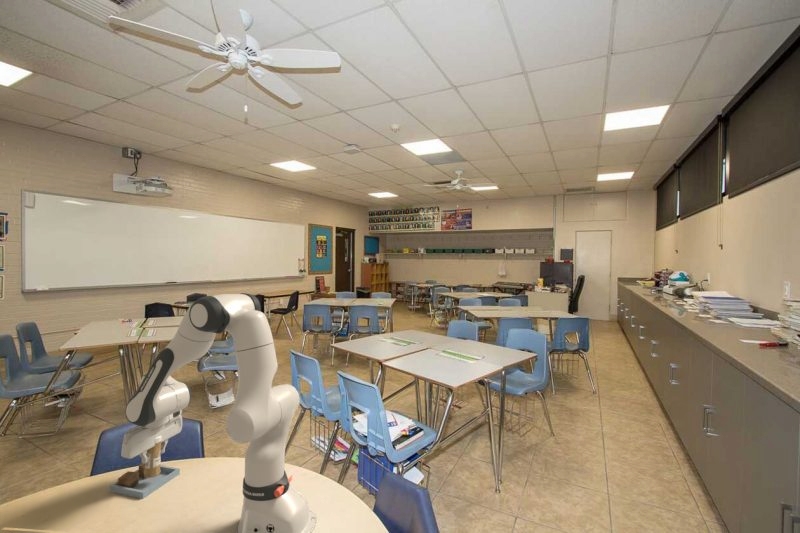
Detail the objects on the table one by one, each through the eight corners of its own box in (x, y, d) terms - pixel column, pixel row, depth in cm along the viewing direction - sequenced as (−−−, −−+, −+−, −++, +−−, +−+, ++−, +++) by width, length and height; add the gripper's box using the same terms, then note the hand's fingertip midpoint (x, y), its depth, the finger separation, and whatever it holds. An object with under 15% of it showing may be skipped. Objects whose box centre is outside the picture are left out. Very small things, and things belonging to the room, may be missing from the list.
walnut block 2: (156, 473, 126) (156, 462, 126) (144, 479, 123) (144, 468, 123) (150, 470, 128) (150, 459, 128) (138, 476, 125) (138, 465, 125)
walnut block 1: (138, 483, 121) (138, 471, 121) (129, 490, 117) (129, 478, 117) (127, 482, 121) (127, 471, 121) (117, 490, 117) (117, 478, 117)
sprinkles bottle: (160, 475, 120) (161, 437, 120) (144, 480, 117) (145, 440, 117) (160, 469, 124) (161, 431, 124) (144, 473, 121) (146, 434, 121)
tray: (179, 475, 126) (179, 468, 126) (143, 500, 113) (143, 492, 113) (148, 469, 130) (149, 463, 130) (109, 493, 116) (109, 485, 116)
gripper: (132, 432, 110) (131, 476, 110) (185, 407, 130) (185, 444, 130) (116, 430, 111) (115, 473, 111) (172, 405, 131) (171, 442, 131)
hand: (153, 457), depth 121 cm, fingers closed on sprinkles bottle, 4 cm apart
